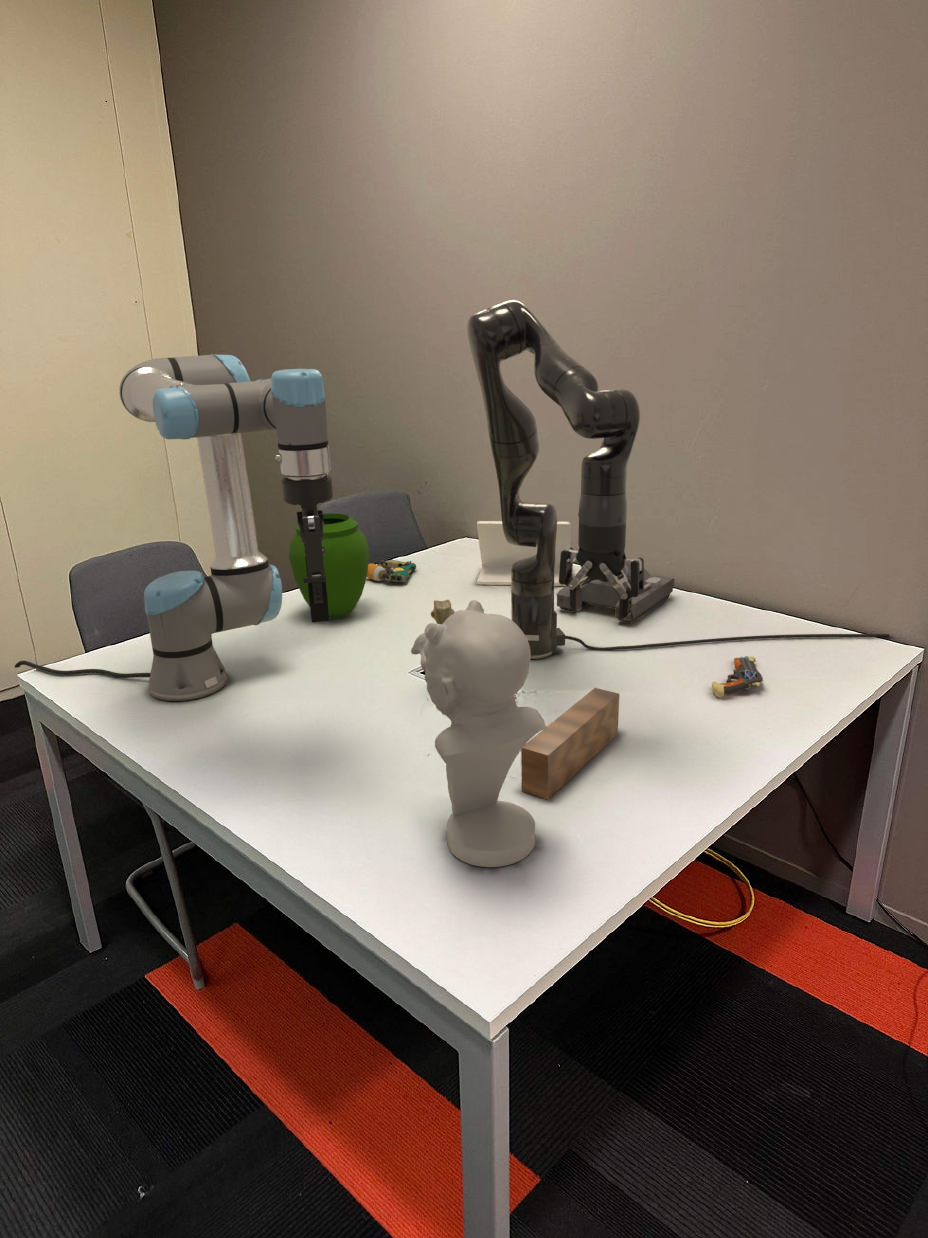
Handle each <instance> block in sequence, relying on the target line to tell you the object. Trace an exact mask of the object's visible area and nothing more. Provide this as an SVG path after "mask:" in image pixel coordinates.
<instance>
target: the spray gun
mask: <svg viewBox="0 0 928 1238" xmlns="http://www.w3.org/2000/svg"><path fill="white" fill-rule="evenodd" d="M416 569H417V564H416V563H415V562H412V560H410V561H401V560H397V559H388V560H378V561H377V562H376V564H375V563H368V573H367V578H368V579H370V580H373V581H377V582H381V581H384V580H388V581H389V582H398V583H399V582H400V583H406V581H407V580H408V578H409V577H410V575H411V573H413V572H415V571H416Z"/></svg>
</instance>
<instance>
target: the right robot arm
mask: <svg viewBox="0 0 928 1238" xmlns="http://www.w3.org/2000/svg"><path fill="white" fill-rule="evenodd" d="M466 328H467V337H468V343H469V348H470V352H471V356H472V359H473V363H474V367H475V370H476V374H477V378H478V382H479V386H480V390H481V394H482V399H483V405H484V411H485V417H486V424H487V431H488V437H489V444H490V448H491V453H492V458H493V463H494V467H495V471H496V478H497V484H498V493H499V503H500V515H501V516H500V517H501V521H502V526H503V532H504V536H505V539H506V541H507V542H508V543H509V544H511V545H516V546H526V547H537V554H536V555H534V556H532V557H529V558H525V559H521V560H518V561H516V562H515V563H513V565H512V567H511V585H510V588H511V589H510V597H511V599H510V603H511V604H510V606H511V607H510V609H511V610H510V615H511V617H510V619H511V620H512V621H513V622H514V623H515V624H516V625H517V626H518V627H519V628H520V629H521V630H522V632H523V633H524V634H525V636H526V638H527V640H528V643H529V646H530V652H531V653H530V655H531V656H530V660H540V659H545V658H548V657H550V656H552V655H557V654H558V653H557V650H558V649H557V648H558V647H562V646H566V640H570V641H574V642H577V643H579V644H580V645H581V646H583V647H584V648H585V649H588V650H590V651H591V650H592V651H601V652H602V651H604V652H605V651H618V650H636V649H647V648H659V647H669V646H679V645H692V644H694V645H695V644H703V643H705V644H706V643H715V642H716V643H717V642H730V641H731V642H732V641H747V640H765V639H768V640H769V639H794V638H795V639H796V638H797V639H798V638H890V633H803V634H801V633H800V634H799V633H798V634H796V633H795V634H767V635H766V634H765V635H748V636H747V635H746V636H731V637H717V638H705V639H703V638H702V639H694V640H693V639H692V640H682V641H680V640H679V641H671V642H670V641H669V642H658V643H647V644H646V643H645V644H636V645H619V646H607V647H606V646H605V647H597V646H592V645H588V644H587V643H585V642H584V641H583V640H582V639H580V638H578V637H574V636H571V635H566V634H565V632H564V631H562V629H561V628H560V627H558V613H557V612H556V611H555V586H554V569H555V550H556V534H557V522H558V514H557V509H556V507H555V506H554V504H551V503H546V502H545V503H544V502H531V501H530V502H529V501H522V499H521V498H520V489H521V487H522V485H523V482H524V480H525V479H526V476H527V475H528V474H529V473H530V471H531V469H532V467H533V466H534V464H535V462H536V460H537V458H538V455H539V453H540V443H539V434H538V427H537V422H536V418H535V416H534V413H533V412H532V411H531V409H530V408H529V407H528V406H527V405H526V404H525V403H524V402H523V401H522V400H521V399H520V398H519V397H518V396H517V395H516V394H515V393H513V391H512V390H511V389H510V388H509V387H508V385H507V384H506V382H505V381H504V379H503V376H502V371H501V363H502V362H504V361H506V360H509V359H511V358H514V357H516V356H518V355H521V354H523V353H525V352H528V353H531V354H533V356H534V365H533V367H534V371H533V372H534V376H535V381H536V383H537V385H538V387H539V389H540V390H541V391H542V392H543V393H544V395H546V396H547V397H548V398H549V399H550V400H552V401H553V402H554V403H555V404H556V405H557V406H558V407H560V408H561V411H562V412H563V414H564V416H565V417H566V419H567V421H568V423H569V425H570V427H571V429H572V430H573V431H574V432H575V433H576V434H577V435H579V436H580V437H582V438H583V439H589V440H597V439H599V440H600V439H603V440H602V443H601V444H600V447H599V448H598V449H596V450H595V451H592V452H590V453H589V454H587V455H585V456H584V457H583V459H582V462H581V472H580V473H581V474H580V496H579V504H578V514H577V515H578V538H577V539H578V541H577V544H578V550H575V549H574V548H573V547H571V546H570V547H569V548H567V549H565V550H563V551H562V552H561V556H560V570H559V583H560V584H561V585H563V584H564V585H566V586H568V587H569V589H570V607H572V610H573V611H576V612H579V611H580V610H582V608H583V607H582V587H580V585H581V584H582V583H583V582H584V580H585V579H586V578H587V577H588V578H589V579H590V580H600V581H602V582H608V581H609V582H610V583H611V585H612V587H613V588H615V589H616V590H617V592H618V593H619V595H620V597H621V598H620V599H619V619H620V620H625V619H626V618H627V617H628V616H629V615H630V614H631V610H632V597H637V596H638V595H640V594H641V593H643V592H644V569H645V560H644V558H643V557H638V558H627V556H625V555H626V551H625V550H626V540H627V539H626V538H627V535H626V534H627V516H628V515H627V511H628V502H627V468H628V464H629V460H630V458H631V454H632V451H633V447H634V443H635V441H636V437H637V434H638V431H639V428H640V427H639V426H640V421H641V409H640V404H639V401H638V399H637V397H636V396H635V394H633V392H631V391H630V390H628V389H624V388H618V389H607V390H599V382H598V379H597V378H596V377H595V375H594V374H593V373H592V372H591V371H590V370H588V369H587V368H586V367H584V366H583V365H582V364H581V363H580V362H578V361H577V360H576V359H574V358H573V357H571V356H570V354H568V353H566V351H564V349H562V347H561V346H560V345H559V344H558V343H557V341H556V340H555V339H554V337H553V336H552V335H551V334H550V332H549V331H548V330H547V328H546V327H544V325H543V324H542V323H541V322H540V320H539V319H538V318H537V317H536V316H535V314H534V313H533V312H532V311H531V310H530V309H529V308H528V307H527V306H526V305H525V304H524V303H522V302H520V301H519V300H517V299H516V300H515V299H512V300H506V301H503V302H500V303H498V304H496V305H493V306H489V307H488V308H484V309H482V310H480V311H477V312H476V313H474V314H472V315H471V316H470V317H469V318H468V320H467V327H466ZM624 551H625V552H624ZM576 561H577V563H578V565H579V566H580V569H579V570H578V571H577V573H576V574H575V575H574V576H573V569H574V568H573V567H574V562H576ZM625 566H626V567H627V568H628V572H630V573H631V586H630V584H629V583H628V579H627V577H626V575H625V573H624V572H623V570H622V569H623V568H624V567H625ZM616 576H617V577H618V579H617V578H616ZM566 586H565V587H566ZM581 607H582V608H581ZM620 620H619V621H620Z"/></svg>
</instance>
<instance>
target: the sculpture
mask: <svg viewBox="0 0 928 1238" xmlns="http://www.w3.org/2000/svg"><path fill="white" fill-rule="evenodd" d="M455 612H456V611H455V609H453V608H452V602H451V601H450V599H445V600H433V610H431V612H430V617H431V618H432V619H433V620H434V621H435V622H436V623H435V624H443V623H444V622H445V620H446V619H447V618H448V617H450V616H451V615H452V614H453V613H455Z"/></svg>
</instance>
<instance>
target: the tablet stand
mask: <svg viewBox="0 0 928 1238" xmlns="http://www.w3.org/2000/svg"><path fill="white" fill-rule="evenodd" d="M476 531H477V537H478V544H479V551H480V557H481V558H480V559H481V570H480V573H479V575H478V577H477V580H476V581H477V582H476V584H478V585H484V586H485V585H486V586H487V585H489V586H490V585H491V586H511V567H512V565H513V563H515V562H516V561H518V560H521V559H525V558H529V557H532V556H534V555H536V554H537V547H526V546H516V545H511V544H509V543H508V542H507V541H506V539H505V536H504V532H503V526H502V520H477V522H476ZM569 547H571V522H569V521H557V534H556V550H555V569H554V587H556V586H557V587H566V585H564V584H563V585H561V584H560V583H559V570H560V556H561V552H562V551H563V550H565V549H567V548H569Z"/></svg>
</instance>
